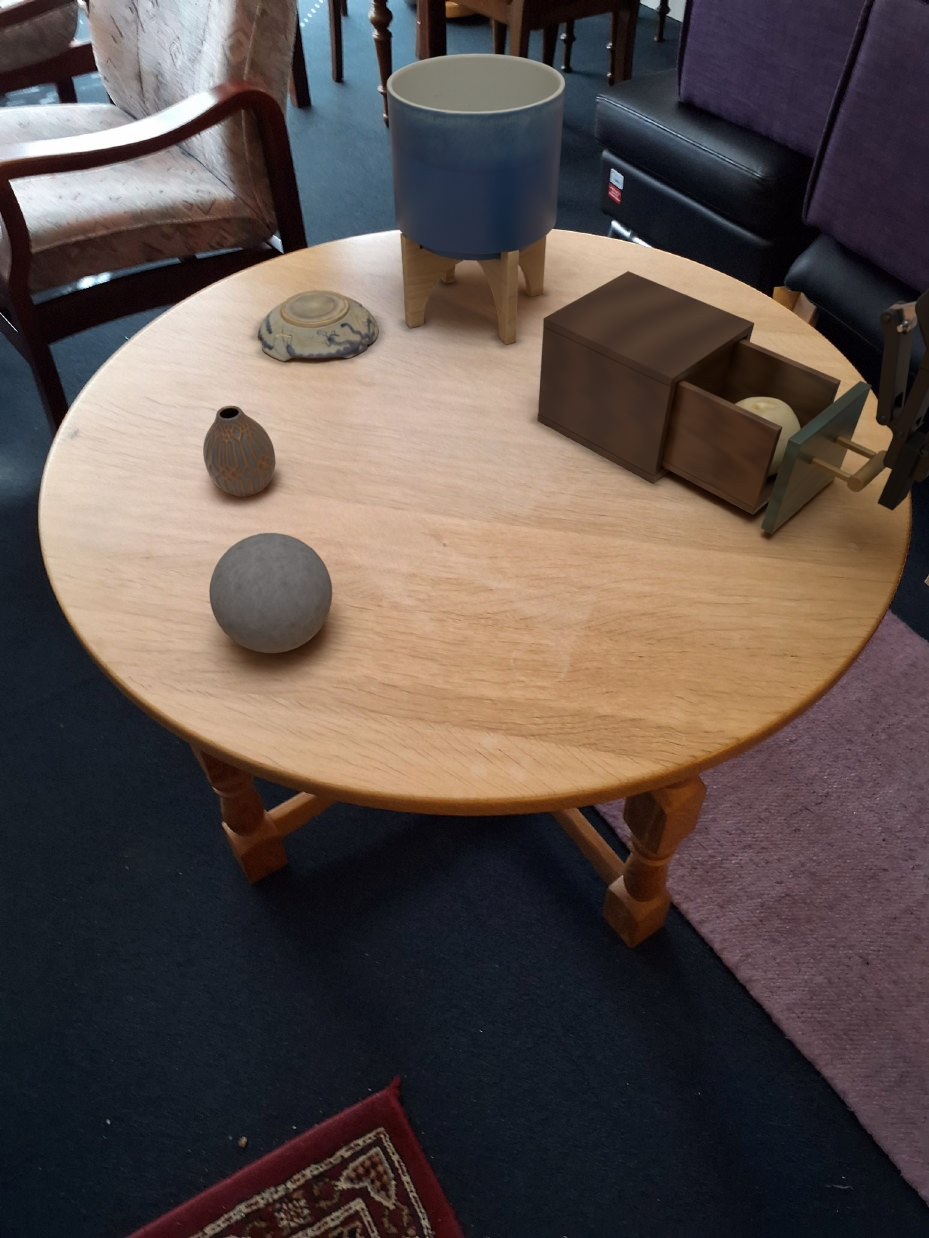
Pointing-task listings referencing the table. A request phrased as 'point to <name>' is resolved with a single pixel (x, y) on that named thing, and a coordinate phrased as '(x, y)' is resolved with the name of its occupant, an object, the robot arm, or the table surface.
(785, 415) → the apple
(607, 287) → the cabinet
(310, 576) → the decorative ball
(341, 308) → the decorative bowl
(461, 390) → the table surface
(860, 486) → the drawer
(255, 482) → the vase
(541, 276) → the planter
